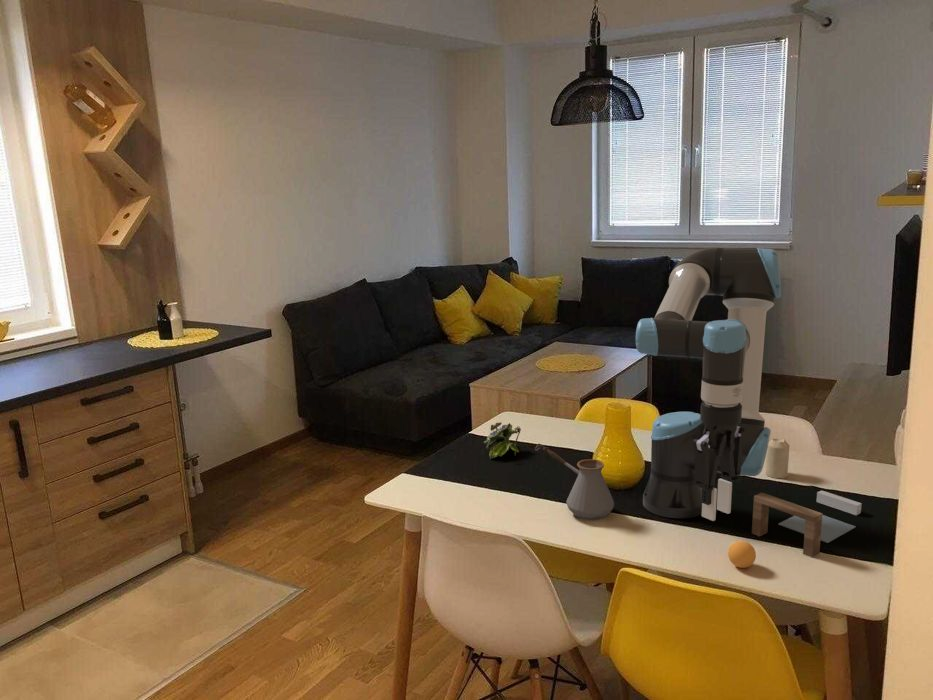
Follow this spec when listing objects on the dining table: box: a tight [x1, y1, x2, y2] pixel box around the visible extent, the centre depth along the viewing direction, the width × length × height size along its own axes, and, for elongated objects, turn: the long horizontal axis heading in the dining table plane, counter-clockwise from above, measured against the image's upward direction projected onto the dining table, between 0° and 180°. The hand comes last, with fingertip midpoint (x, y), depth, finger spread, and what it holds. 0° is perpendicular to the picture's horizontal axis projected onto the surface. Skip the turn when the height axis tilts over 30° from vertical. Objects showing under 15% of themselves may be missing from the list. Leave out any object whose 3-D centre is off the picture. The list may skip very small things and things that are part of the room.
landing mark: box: [777, 514, 856, 544], centre depth 182 cm, size 12×12×1 cm
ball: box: [727, 540, 757, 569], centre depth 165 cm, size 6×6×6 cm
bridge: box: [751, 492, 824, 558], centre depth 173 cm, size 3×14×9 cm, turn 36°
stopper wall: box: [816, 490, 862, 516], centre depth 191 cm, size 10×2×2 cm, turn 37°
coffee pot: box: [534, 443, 615, 521], centre depth 193 cm, size 21×12×15 cm, turn 51°
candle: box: [765, 438, 790, 479], centre depth 210 cm, size 6×6×10 cm
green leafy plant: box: [483, 421, 522, 460], centre depth 232 cm, size 11×11×12 cm
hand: (716, 514), depth 156 cm, fingers open, 4 cm apart
